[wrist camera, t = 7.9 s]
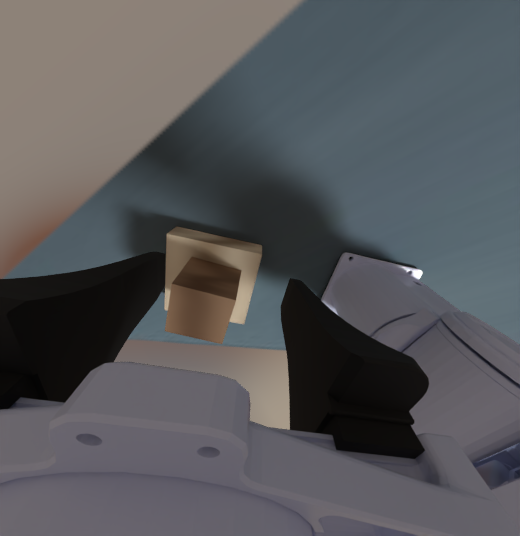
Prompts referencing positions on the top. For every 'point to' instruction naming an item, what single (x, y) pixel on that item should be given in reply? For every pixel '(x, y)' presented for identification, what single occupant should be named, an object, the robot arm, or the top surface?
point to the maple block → (214, 261)
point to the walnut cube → (202, 300)
